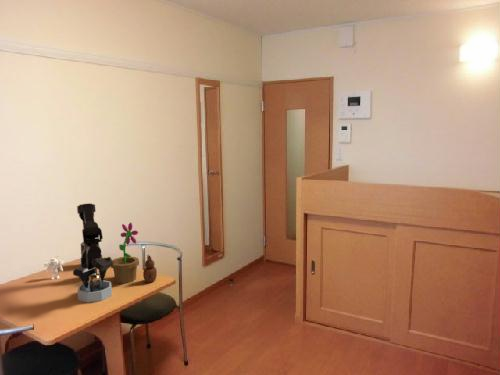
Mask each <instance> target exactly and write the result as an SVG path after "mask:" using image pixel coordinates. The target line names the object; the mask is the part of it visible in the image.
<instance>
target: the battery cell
mask: <svg viewBox="0 0 500 375" xmlns="http://www.w3.org/2000/svg"><path fill="white" fill-rule="evenodd" d="M100 280H101V278H100V274H99V272H97V273H93V274H91V275H89V280H88V282H89V281H90V292H95V291H100Z"/></svg>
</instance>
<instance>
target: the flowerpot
mask: <svg viewBox="0 0 500 375" xmlns="http://www.w3.org/2000/svg"><path fill="white" fill-rule="evenodd" d="M121 227H122V229H123V231H124V232H121V233H120V237H121V238H124V237H125V238H124V241H123V244H119V245H118V247H119V250H120V251H123V256H120V257H117V258H114V259H112V261H113V265H111V267H110V268H111V269H112V270H113V274H114V280H115V283H118V284H130V283H133V282H135V281H136V280H137V269H138V266H140V260H139V258H138V257H135V256H132V255H130V254H129V253H127V252H126V248H127V247H126V245H127V246H128V245H130V243H133V244H135V245H136V244H137V239H136V238H135V236H137V234H139V232H138V230H136V229H135V230H133V223H132V222H129V224H128V225H125V224H124V223H122V224H121ZM134 280H135V281H134Z"/></svg>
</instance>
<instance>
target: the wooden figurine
mask: <svg viewBox="0 0 500 375" xmlns="http://www.w3.org/2000/svg"><path fill="white" fill-rule="evenodd" d="M146 256H147V258H146V259H147V260H145V262H144V267H145V268H144V269H143V273H142V275H143V279H144V282H145V283H149V284H150V283H153V282H155V281H156V279H157V275H158V274H157V273H158V272H157V267H156V266H155V261H154V260H153V259H152V256H151V255H149V254H147V255H146Z"/></svg>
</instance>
